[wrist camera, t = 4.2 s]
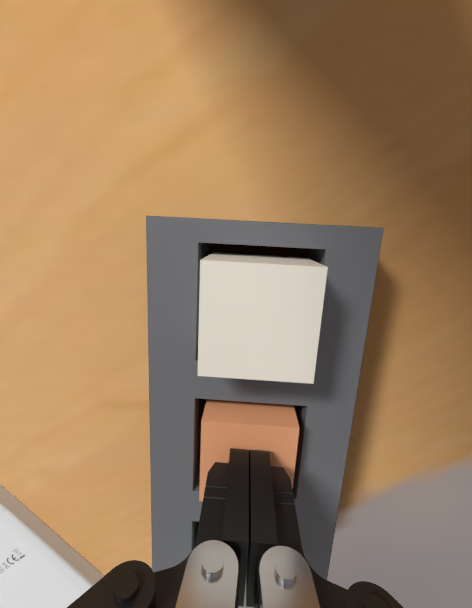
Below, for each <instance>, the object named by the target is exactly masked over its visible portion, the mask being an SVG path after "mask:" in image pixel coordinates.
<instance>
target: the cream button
mask: <svg viewBox="0 0 472 608" xmlns="http://www.w3.org/2000/svg"><path fill="white" fill-rule="evenodd" d="M327 270H328V267H326V266H324V265H322V264H320V263H318V262H315V261H313V260H311V259H309V258H306V257H293V256H275V255H257V254H239V253H220V252H213V253H211V254H210V255H208V256H206V257H204V258H203V259H201V260H200V289H199V332H198V374H197V376H206V377H221V378H235V379H250V380H265V381H280V382H295V383H310V384H314V376H315V367H316V359H317V351H318V343H319V335H320V327H321V319H322V310H323V302H324V294H325V286H326V278H327Z"/></svg>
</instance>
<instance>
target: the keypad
mask: <svg viewBox="0 0 472 608" xmlns="http://www.w3.org/2000/svg"><path fill="white" fill-rule="evenodd" d="M382 234H383V228H373V227H354V226H335V225H315V224H296V223H277V222H258V221H238V220H219V219H200V218H181V217H161V216H146V235H147V292H148V348H149V405H150V462H151V519H152V571H153V573H154V572H157V571H161V570H164V569H168V568H171V567H174V566H176V565H178V564H179V563H181V562H182V561H184V560H185V559H186V558H187V557H188V555H189V554H190V553H191V551H192V549H193V548H194V545H195V542H196V537H197V532H198V526H199V520H200V514H201V509H202V503H203V501H199V486H200V450H201V420H202V416H203V412H204V399H213V400H227V401H241V402H256V403H270V404H285V405H294V408H295V412H296V416H297V420H298V424H299V428H300V429H299V437H298V446H297V455H296V463H295V472H294V481H293V489H292V490H293V496H294V502H295V508H296V514H297V520H298V526H299V532H300V538H301V544H302V549H303V553H304V556H305V558H306V560H307V562H308V563H309V565H310V566H311V568H312V569H313V570H314V571H315V572H316V573H317V574H318V575H319V576H321V577H322V578H324V579H325V580H327V575H328V569H329V562H330V557H331V551H332V544H333V538H334V532H335V526H336V519H337V513H338V507H339V501H340V495H341V488H342V482H343V476H344V470H345V464H346V457H347V451H348V445H349V439H350V433H351V426H352V420H353V414H354V408H355V402H356V395H357V389H358V383H359V377H360V371H361V364H362V358H363V352H364V346H365V340H366V333H367V327H368V321H369V315H370V309H371V302H372V296H373V290H374V284H375V278H376V271H377V265H378V259H379V253H380V246H381V240H382ZM209 243H218V244H236V245H254V246H273V247H291V248H309V252H308V258H309V259H311V260H313V261H315V262H318V263H320V264H322V265H324V266H326V267H328V270H327V278H326V286H325V294H324V302H323V310H322V319H321V327H320V335H319V343H318V351H317V359H316V367H315V376H314V384H310V383H295V382H280V381H265V380H250V379H235V378H221V377H206V376H197V374H198V332H199V289H200V260H201V259H203V258H204V257H206V256H208V255H209Z"/></svg>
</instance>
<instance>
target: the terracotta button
mask: <svg viewBox="0 0 472 608" xmlns="http://www.w3.org/2000/svg"><path fill="white" fill-rule="evenodd" d="M299 429H300V428H299V424H298V420H297V416H296V412H295V408H294V405H285V404H270V403H256V402H241V401H227V400H213V399H207V401H206V404H205V408H204V412H203V416H202V420H201V450H200V486H199V501H203V498H204V491H205V486H206V480H207V474H208V471H209V470H210V469H211V467H212V466H213V464H214V463H215V462H221V463H229V455H230V448H236V449H249V458H250V450H264V451H269V453H270V464H271V466H275V467H283V468H284V469H285V471H286V472H287V474H288V476H289V477H290V479H291V484H292V489H293V481H294V472H295V463H296V455H297V446H298V437H299Z"/></svg>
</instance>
